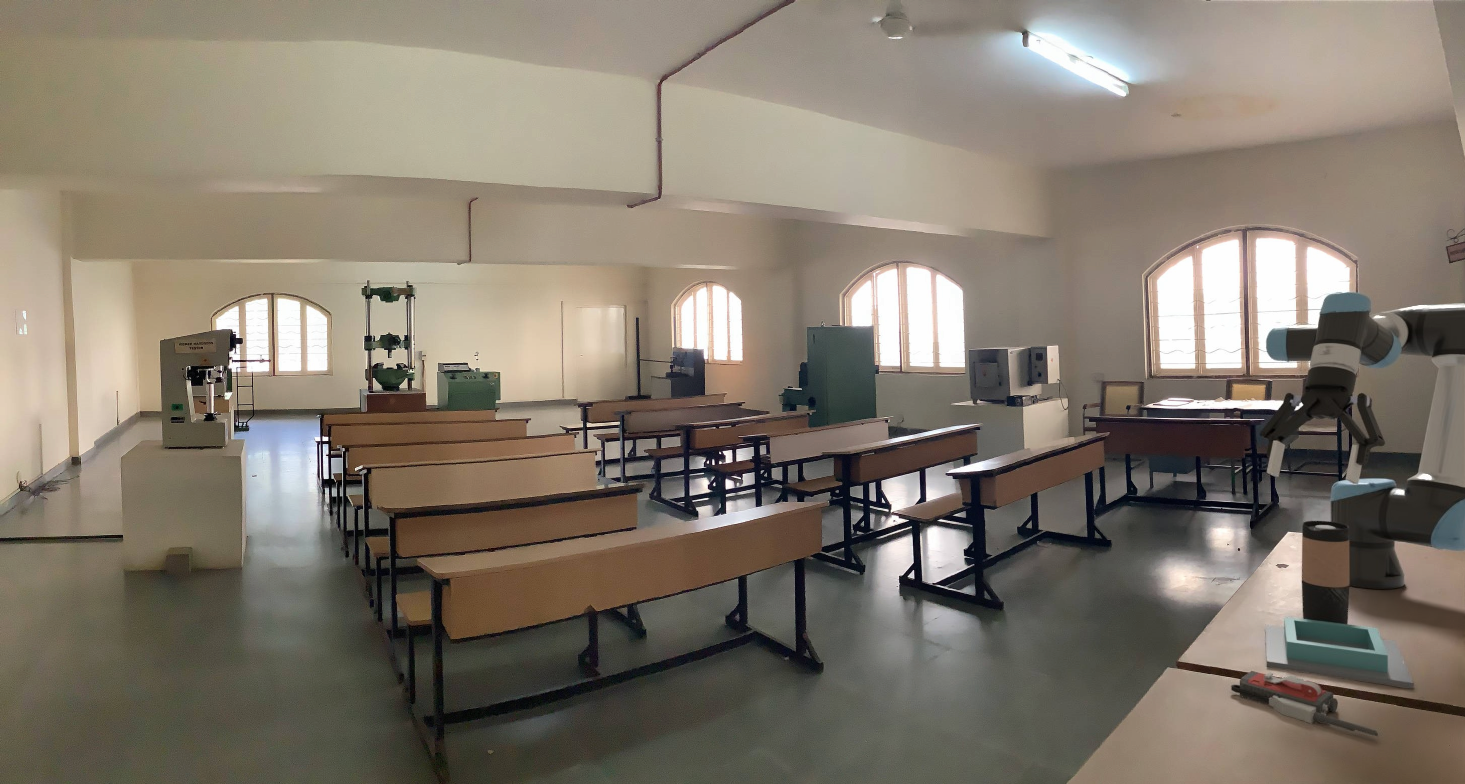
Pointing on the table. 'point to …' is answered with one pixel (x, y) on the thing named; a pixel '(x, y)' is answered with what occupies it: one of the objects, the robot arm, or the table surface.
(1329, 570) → the travel mug
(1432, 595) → the table surface
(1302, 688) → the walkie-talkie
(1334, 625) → the mug dock
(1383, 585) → the robot arm
